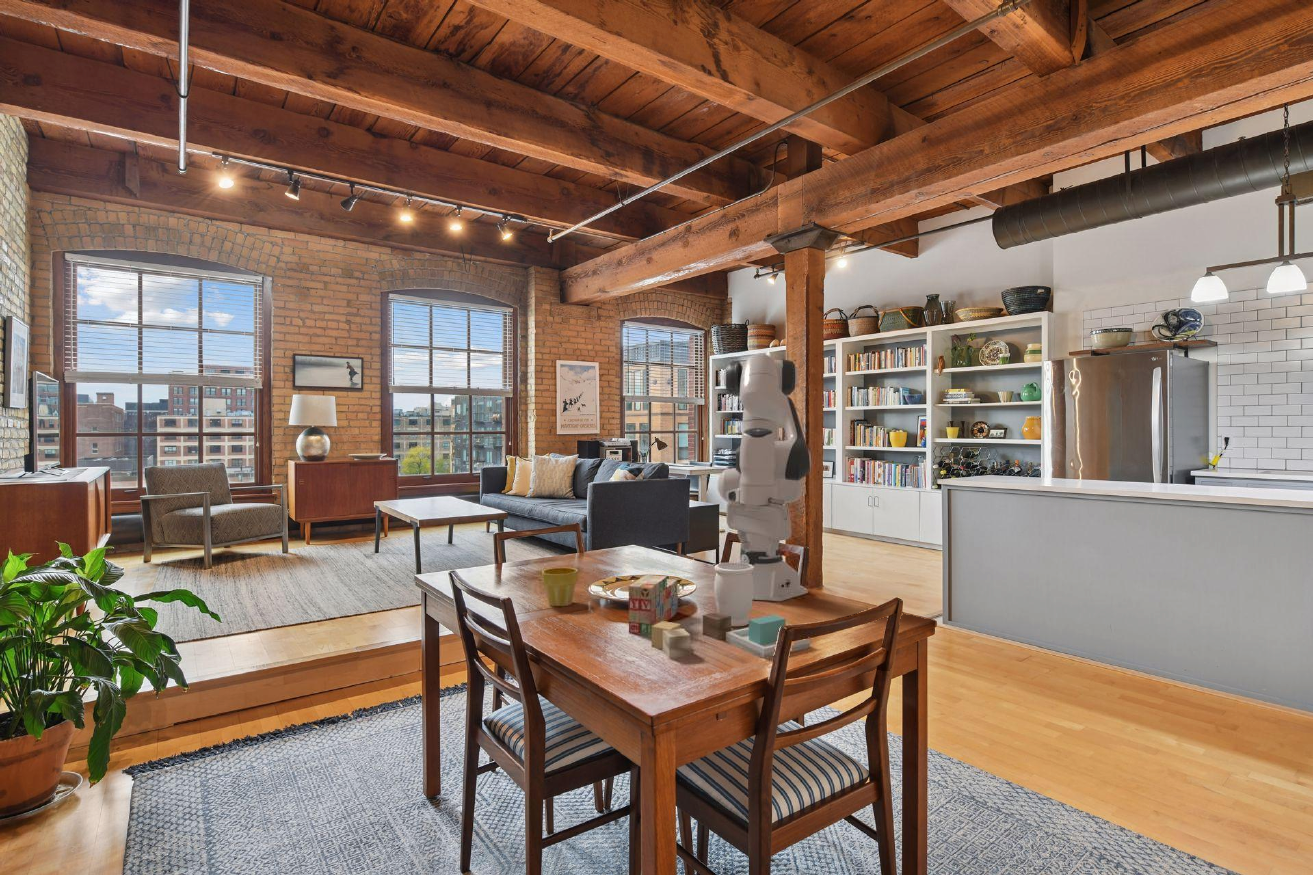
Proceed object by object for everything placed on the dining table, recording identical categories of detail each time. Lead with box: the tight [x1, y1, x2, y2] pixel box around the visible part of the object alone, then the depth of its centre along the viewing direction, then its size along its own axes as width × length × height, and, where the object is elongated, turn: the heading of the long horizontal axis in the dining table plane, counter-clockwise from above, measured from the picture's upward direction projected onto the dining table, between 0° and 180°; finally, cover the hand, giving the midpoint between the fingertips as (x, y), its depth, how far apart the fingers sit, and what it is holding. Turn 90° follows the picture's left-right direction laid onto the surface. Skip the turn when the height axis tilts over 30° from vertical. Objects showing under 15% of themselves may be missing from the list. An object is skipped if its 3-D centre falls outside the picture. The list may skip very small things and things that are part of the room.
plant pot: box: [541, 566, 579, 607], centre depth 197 cm, size 10×10×10 cm
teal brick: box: [748, 614, 787, 645], centre depth 161 cm, size 8×4×5 cm, turn 121°
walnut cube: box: [702, 610, 732, 640], centre depth 168 cm, size 5×5×5 cm
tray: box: [725, 627, 811, 659], centre depth 161 cm, size 14×14×2 cm
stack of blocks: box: [628, 574, 679, 636], centre depth 179 cm, size 21×6×12 cm, turn 160°
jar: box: [713, 561, 754, 627], centre depth 178 cm, size 11×10×15 cm
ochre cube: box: [651, 621, 682, 650], centre depth 160 cm, size 5×5×5 cm
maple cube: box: [662, 628, 691, 660], centre depth 155 cm, size 5×5×5 cm
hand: (757, 552), depth 164 cm, fingers open, 8 cm apart
